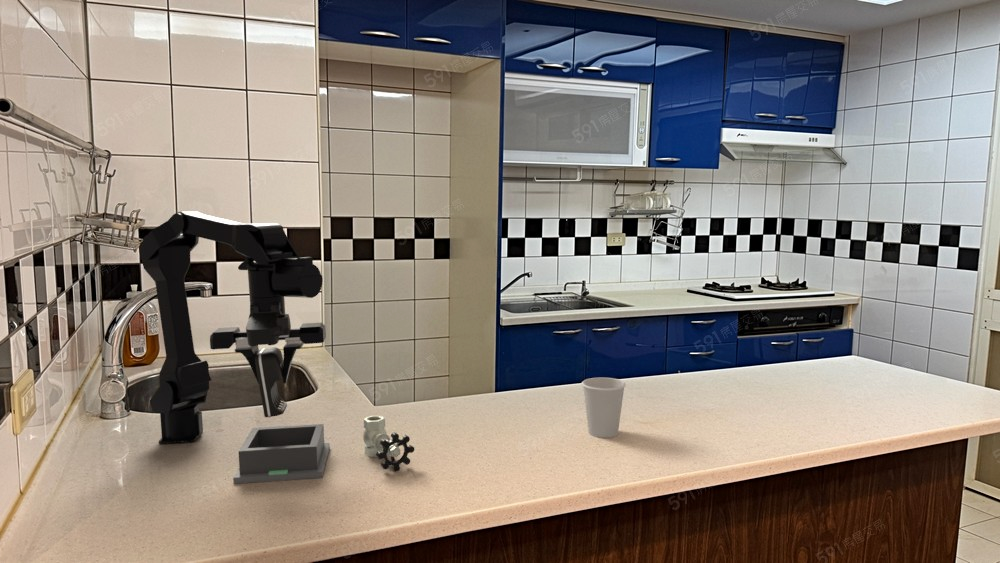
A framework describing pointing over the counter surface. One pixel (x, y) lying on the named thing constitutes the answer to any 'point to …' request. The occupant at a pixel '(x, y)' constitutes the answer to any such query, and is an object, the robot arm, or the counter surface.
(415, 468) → the counter surface
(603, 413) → the dixie cup
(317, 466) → the dock
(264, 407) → the battery charger
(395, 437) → the valve
